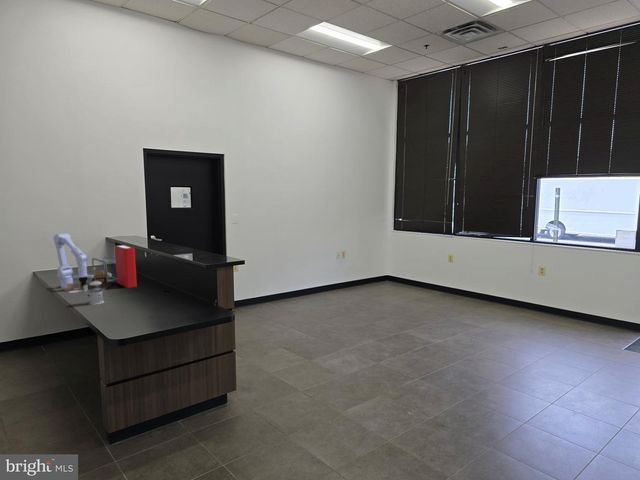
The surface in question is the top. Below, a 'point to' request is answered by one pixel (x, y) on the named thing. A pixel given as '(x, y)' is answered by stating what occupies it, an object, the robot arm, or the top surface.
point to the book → (125, 265)
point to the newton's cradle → (104, 266)
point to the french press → (96, 293)
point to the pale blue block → (85, 288)
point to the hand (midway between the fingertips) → (83, 286)
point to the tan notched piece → (77, 288)
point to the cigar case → (99, 276)
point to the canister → (70, 286)
